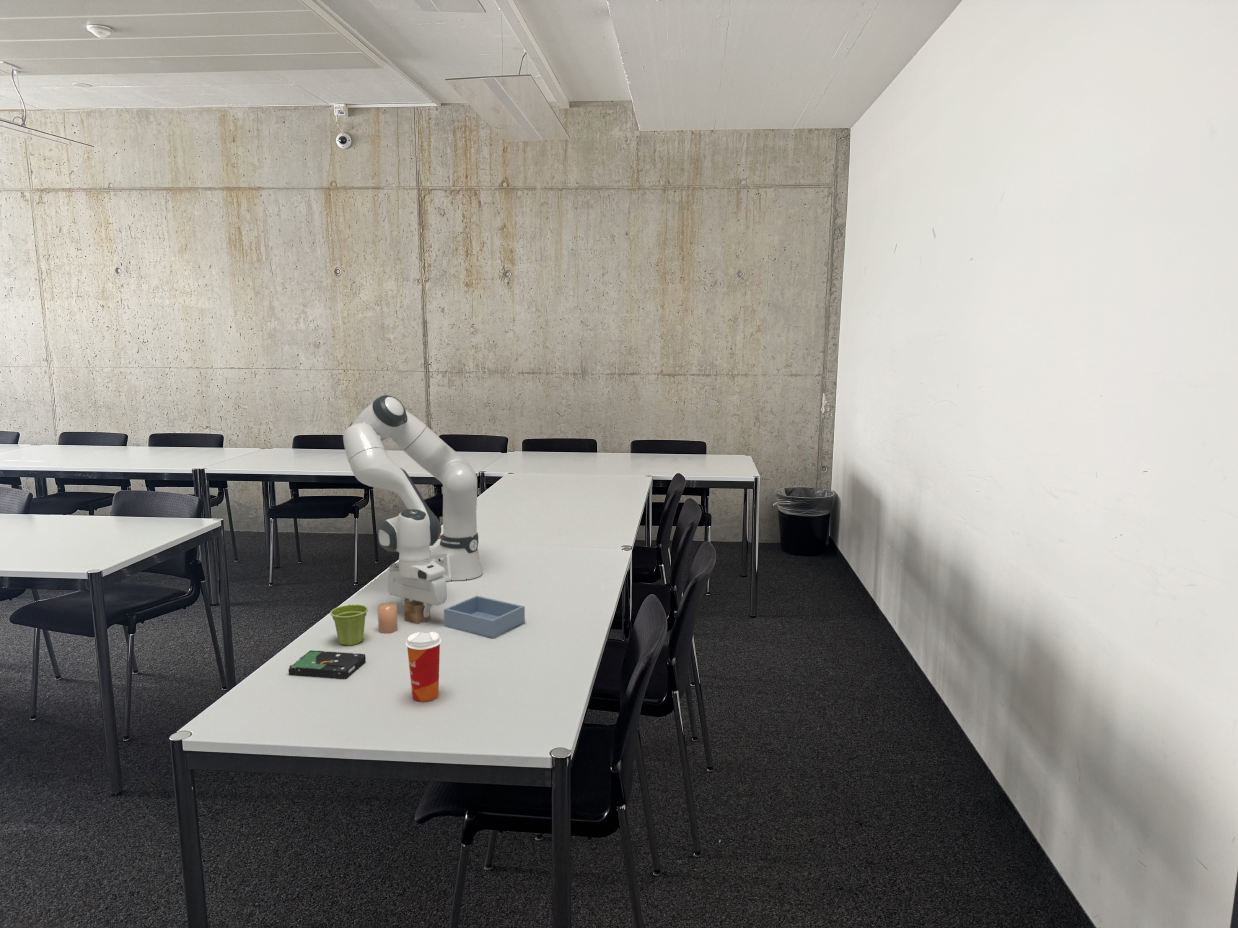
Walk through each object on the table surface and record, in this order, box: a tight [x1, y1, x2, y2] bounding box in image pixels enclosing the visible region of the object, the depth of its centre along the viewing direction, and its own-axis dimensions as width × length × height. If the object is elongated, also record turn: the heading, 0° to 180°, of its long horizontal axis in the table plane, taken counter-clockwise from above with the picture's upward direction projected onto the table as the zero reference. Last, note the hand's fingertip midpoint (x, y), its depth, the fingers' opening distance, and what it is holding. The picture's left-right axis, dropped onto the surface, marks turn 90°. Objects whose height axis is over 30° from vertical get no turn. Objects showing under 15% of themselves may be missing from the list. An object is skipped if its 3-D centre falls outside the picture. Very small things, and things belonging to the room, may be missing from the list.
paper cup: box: [405, 631, 442, 703], centre depth 174 cm, size 8×8×14 cm
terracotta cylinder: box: [377, 602, 399, 635], centre depth 214 cm, size 5×5×7 cm
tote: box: [443, 595, 526, 640], centre depth 218 cm, size 18×14×5 cm
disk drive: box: [287, 650, 367, 680], centre depth 189 cm, size 10×3×15 cm
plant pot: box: [329, 604, 369, 646], centre depth 206 cm, size 9×9×9 cm
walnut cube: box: [403, 600, 431, 625], centre depth 222 cm, size 5×5×5 cm
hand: (417, 614), depth 222 cm, fingers closed on walnut cube, 5 cm apart
